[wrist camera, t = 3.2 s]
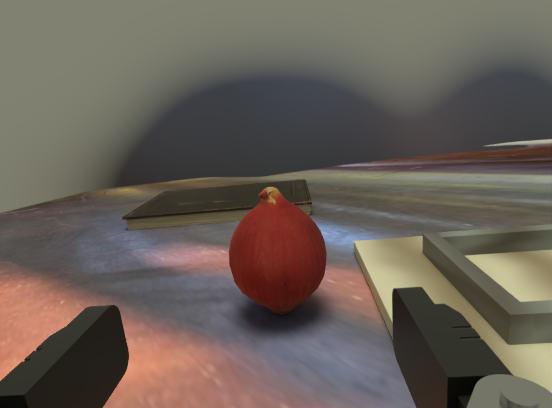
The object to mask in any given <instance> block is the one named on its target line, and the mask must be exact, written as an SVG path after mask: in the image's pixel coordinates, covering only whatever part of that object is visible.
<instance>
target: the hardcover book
mask: <svg viewBox="0 0 552 408" xmlns="http://www.w3.org/2000/svg"><path fill="white" fill-rule="evenodd" d="M267 187H274V188H277V189H278V191H279V192H280V193H281V194H282V196H283V197H284V198H285V199H286V200H287V201H289V202H290V203H292V204H294V205H296V206H297V207H299V208H300V209H301V210H302V211H303V212H304V213H306V214H307V215H311V214H310V212H311V208H310V204H312V202H311V198H310V195H309V191H308V187H307V184H306V180H305V179H302V180H290V181H278V182H267V183H255V184H243V185H232V186H220V187H208V188H197V189H185V190H174V191H164V192H163V193H161V194H159V195H158V196H156V197H154V198H153V199H151V200H150V201H148V202H146V203H145V204H143V205H141V206H140V207H138V208H137V209H135V210H133V211H132V212H130V213H129V214H127V215H125V216H124V217H122V219H123V220H126V221H127V224H128V230H133V229H145V228H157V227H170V226H182V225H194V224H206V223H218V222H231V221H241V220H242V219H243V218H244V216H245V215H246V214H247V213H248V212H249V211H250V210H251V209H253V208H254V207H255V206H257V205H258V204H259V203H260V200H261V198H260V197H259V194H260V193H261V192H262V191H263V190H264V189H265V188H267Z"/></svg>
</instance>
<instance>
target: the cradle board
mask: <svg viewBox="0 0 552 408" xmlns="http://www.w3.org/2000/svg"><path fill="white" fill-rule="evenodd" d="M354 253H355V255H356V257H357V260H358V262H359V264H360V267H361V269H362V271H363V273H364V276H365V278H366V280H367V282H368V285H369V287H370V289H371V292H372V294H373V296H374V298H375V301H376V303H377V305H378V307H379V310H380V312H381V314H382V317H383V319H384V321H385V323H386V326H387V328H388V330H389V333H390V335H391V337H392V339H393V321H392V291H393V289H394V288H407V287H422V288H423V289H424V290H425V292H426V293H427V294H428V296H429V297H430V298H431V300H432V301H433V302H434V304H444V303H445V304H446V305H448V306H450V307H451V308H453V309H455V310H456V311H458V312H460V313H461V314H462V315H463V316H464V317H465V318H466V320H467V321H468V322H469V323H470V324H471V326H472V328H474V329H475V330H476V332H477V333H478V334H479V335H480V337H481V339H483V340H484V341H485V342H486V343H487V345H488V346H489V347H490V348H491V349H492V351H493V352H494V353H495V354H496V355H497V356H498V358H499V359H500V360H501V361H502V362H503V364H504V365H505V366H506V367H507V368H508V370H509V371H510V372H511V373H512V374H513V375H514V376H517V377H521V378H524V379H527V380H530V381H532V382H534V383H537V384H539V385H540V386H542V387H544V388H546V389H547V390H549V391H550V392H551V393H552V224H550V225H536V226H522V227H508V228H495V229H481V230H467V231H453V232H439V233H425V234H423V236H418V237H404V238H390V239H376V240H362V241H354Z"/></svg>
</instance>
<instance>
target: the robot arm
mask: <svg viewBox="0 0 552 408" xmlns="http://www.w3.org/2000/svg"><path fill="white" fill-rule="evenodd" d="M392 321H393V345H394V351H395V355H396V359H397V362H398V364H399V367H400V369H401V372H402V374H403V376H404V379H405V381H406V384H407V386H408V388H409V391H410V393H411V395H412V398H413V400H414V403H415V405H416V407H417V408H552V393H551V392H550V391H549V390H547V389H546V388H544V387H542V386H540V385H539V384H537V383H534V382H532V381H530V380H527V379H524V378H521V377H517V376H514V375H513V374H512V373H511V372H510V371H509V370H508V368H507V367H506V366H505V365H504V364H503V362H502V361H501V360H500V359H499V358H498V356H497V355H496V354H495V353H494V352H493V351H492V349H491V348H490V347H489V346H488V345H487V343H486V342H485V341H484V340H483V339H481V337H480V335H479V334H478V333H477V332H476V330H475V329H474V328H472V326H471V324H470V323H469V322H468V321H467V320H466V318H465V317H464V316H463V315H462V314H461V313H460V312H458V311H456V310H455V309H453V308H451V307H450V306H448V305H446V304H445V303H444V304H434V302H433V301H432V300H431V298H430V297H429V296H428V294H427V293H426V292H425V290H424V289H423V288H422V287H407V288H394V289H393V291H392ZM128 360H129V352H128V347H127V342H126V338H125V333H124V329H123V324H122V319H121V315H120V311H119V309H118V307H117V306H115V305H107V306H91V307H87V308H85V309H84V310H83V311H82V312H81V313H80V314H79V315H78V316H77V317H76V318H75V319H74V320H72V321H71V322H70V323H69V324H68V325H67V326H66V327H64V328H63V329H61V330H59V331H58V332H56V333H54V334H53V335H51V336H50V337H48V338H47V339H46V340H45V341H44V342H43V343H42V344H41V345H40V346H39V347H37V348H36V351H33V352H32V353H31V354H30V355H29V356H28V357H26V358H25V361H24V362H21V363H20V364H19V365H18V366H17V367H15V368H14V369H13V370H12V371H11V372H10V373H9V374H8V375H7V376H5V377H4V378H3V379H2V380H1V381H0V408H103V406H104V405H105V403H106V402H107V400H108V399H109V397H110V396H111V394H112V393H113V391H114V389H115V388H116V386H117V385H118V383H119V382H120V380H121V379H122V377H123V376H124V374H125V372H126V369H127V366H128Z"/></svg>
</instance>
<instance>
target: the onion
mask: <svg viewBox="0 0 552 408" xmlns="http://www.w3.org/2000/svg"><path fill="white" fill-rule="evenodd" d="M259 197H260V198H261V200H260V203H259V204H258V205H257V206H255V207H254V208H253V209H251V210H250V211H249V212H248V213H247V214H246V215H245V216H244V218H243V219H242V220H241V222H240V223H239V225H238V227H237V228H236V230H235V232H234V234H233V237H232V240H231V243H230V249H229V264H230V267H231V271H232V274H233V277H234V281H235V283H236V285H237V286H238V287H239V289H240V290H241V291H242V293H244V294H245V295H246V296H248V297H249V298H251V299H252V300H254V301H255V302H257V303H258V304H261V305H263V306H265V307H267V308H269V309H271V310H272V311H273V312H275V313H277V314H286V313H289V312H290V311H291V310H293V309H294V308H295V307H297V306H298V305H299V304H301V303H302V302H303V301H305V300H306V299H307V298H308V297H310V296H311V294H312V293H313V292H314V291H315V290H316V289H317V288H318V286H319V285H320V283H321V281H322V279H323V277H324V273H325V267H326V254H327V253H326V248H325V242H324V239H323V236H322V234H321V231H320V230H319V228H318V227H317V225H316V224H315V222H314V221H313V220H312V219H311V218H310V217H309V216H308V215H307V214H306V213H304V212H303V211H302V210H301V209H300V208H299V207H297V206H296V205H294V204H292V203H290V202H289V201H287V200H286V199H285V198H284V197H283V196H282V194H281V193H280V192H279V191H278V189H277V188H274V187H267V188H265V189H264V190H263V191H262V192H261V193H260V194H259Z"/></svg>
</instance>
